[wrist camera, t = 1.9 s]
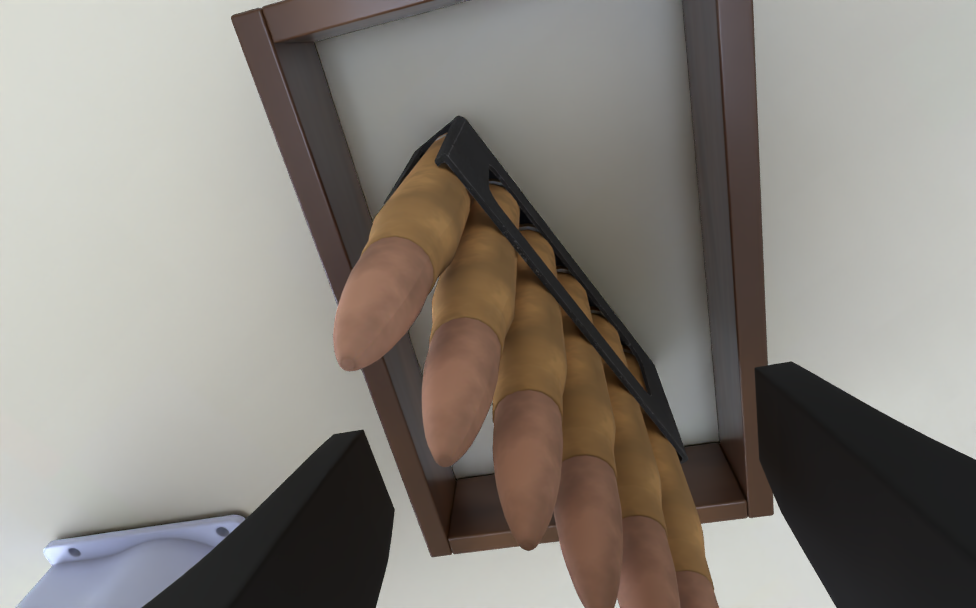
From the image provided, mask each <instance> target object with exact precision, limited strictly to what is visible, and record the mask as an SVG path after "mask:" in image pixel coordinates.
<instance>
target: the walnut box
mask: <svg viewBox="0 0 976 608" xmlns="http://www.w3.org/2000/svg"><path fill="white" fill-rule="evenodd" d="M466 1H470V0H284V1H280V2H277V3H273V4H270V5H266V6H263V7H262V8H256V9H252V10H249V11H245V12H242V13H238V14H234V15H232V16H231V20H232V23H233V26H234V28H235V31H236V34H237V36H238V39H239V42H240V44H241V47H242V50H243V52H244V55H245V58H246V61H247V63H248V66H249V69H250V71H251V74H252V77H253V79H254V82H255V85H256V87H257V90H258V93H259V95H260V98H261V101H262V104H263V106H264V109H265V112H266V114H267V117H268V120H269V122H270V125H271V128H272V130H273V133H274V136H275V138H276V141H277V144H278V147H279V149H280V152H281V155H282V157H283V160H284V163H285V165H286V168H287V171H288V173H289V176H290V179H291V182H292V184H293V187H294V190H295V192H296V195H297V198H298V200H299V203H300V206H301V208H302V211H303V214H304V216H305V219H306V222H307V225H308V227H309V230H310V233H311V235H312V238H313V241H314V243H315V246H316V249H317V251H318V254H319V257H320V259H321V262H322V265H323V268H324V270H325V273H326V276H327V278H328V281H329V284H330V286H331V289H332V292H333V294H334V297H335V300H336V303H337V305H338V304H339V301H340V298H341V295H342V292H343V289H344V287H345V284H346V282H347V279H348V277H349V275H350V273H351V271H352V269H353V268H354V266H355V265H356V263H357V262H358V260H359V259H360V256H361V253H362V251H363V249H364V247H365V246H366V244H367V242H368V241H369V235H370V231H371V228H372V225H373V223H372V220H371V217H370V214H369V211H368V208H367V205H366V202H365V199H364V196H363V192H362V189H361V186H360V183H359V180H358V177H357V174H356V171H355V168H354V165H353V162H352V159H351V155H350V152H349V149H348V146H347V143H346V140H345V137H344V134H343V131H342V128H341V125H340V122H339V118H338V115H337V112H336V109H335V106H334V103H333V100H332V97H331V94H330V91H329V88H328V84H327V81H326V78H325V75H324V72H323V69H322V66H321V63H320V60H319V57H318V54H317V51H316V47H315V44H314V42H316V41H320V40H324V39H327V38H331V37H335V36H339V35H342V34H346V33H350V32H354V31H357V30H361V29H365V28H369V27H372V26H376V25H380V24H384V23H387V22H391V21H395V20H399V19H402V18H406V17H410V16H414V15H417V14H421V13H425V12H429V11H432V10H436V9H440V8H444V7H447V6H451V5H455V4H459V3H462V2H466ZM682 1H683V13H684V24H685V36H686V48H687V60H688V72H689V84H690V95H691V107H692V119H693V131H694V143H695V154H696V166H697V178H698V190H699V202H700V214H701V225H702V237H703V249H704V261H705V273H706V284H707V296H708V308H709V320H710V332H711V344H712V355H713V367H714V379H715V391H716V403H717V414H718V426H719V438H720V443H718V442H716V443H709V444H702V445H695V446H688V447H684V448H685V451H686V454H687V456H688V460H687V461H686V462H684V463H682V464H681V467H682V470H683V472H684V475H685V478H686V481H687V484H688V487H689V490H690V492H691V495H692V498H693V501H694V504H695V507H696V510H697V512H698V515H699V519H700V523H701V524H703V523H711V522H719V521H727V520H735V519H743V518H747V517H749V518H754V517H762V516H770V515H773V514H774V508H773V492H772V490H771V487H770V485H769V483H768V480H767V478H766V475H765V473H764V471H763V468H762V466H761V463H760V461H759V447H758V427H757V408H756V388H755V368H754V367H761V366H767V365H768V360H767V335H766V310H765V286H764V261H763V236H762V211H761V187H760V162H759V137H758V113H757V88H756V63H755V38H754V14H753V0H682ZM361 370H362V372H363V375H364V378H365V381H366V383H367V386H368V389H369V391H370V394H371V397H372V399H373V402H374V405H375V407H376V410H377V413H378V415H379V418H380V421H381V424H382V426H383V429H384V432H385V434H386V437H387V440H388V442H389V445H390V448H391V450H392V453H393V456H394V458H395V461H396V464H397V467H398V469H399V472H400V475H401V477H402V480H403V483H404V485H405V488H406V491H407V493H408V496H409V499H410V502H411V504H412V507H413V510H414V512H415V515H416V518H417V520H418V523H419V526H420V528H421V531H422V534H423V536H424V539H425V542H426V545H427V547H428V550H429V553H430V555H431V557H437V556H446V555H451V554H452V553H453V554H461V553H469V552H477V551H485V550H493V549H501V548H509V547H517V546H519V544H518V543H517V541H516V540H515V538H514V536H513V534H512V533H511V530H510V528H509V526H508V523H507V521H506V519H505V516H504V513H503V509H502V506H501V502H500V499H499V495H498V490H497V486H496V480H495V474H493V475H486V476H479V477H472V478H465V479H458V480H457V481H456V479H455V476H454V473H453V470H452V467H451V466H449V467H442V466H440V465H438V464H437V463H436V461H435V460H434V458H433V456H432V454H431V451H430V449H429V447H428V444H427V441H426V438H425V432H424V425H423V417H422V383H423V378H422V374H421V371H420V368H419V365H418V362H417V359H416V356H415V353H414V350H413V347H412V344H411V341H410V337H409V334H408V331H407V332H406V334H405V335H404V336H403V337H402V338H401V339H400V340H399V341H398V342H397V343H396V344H395V345H394V346H393V348H392V349H391V350H389V351H388V352H387V353H386V354H385V355H384V356H382V357H381V358H380V359H379V360H377V361H376V362H374V363H372V364H371V365H369V366H366V367H364V368H362V369H361ZM558 541H559V537H558V532H557V527H556V522H555V517H554V511H553V514H552V518H551V521H550V523H549V525H548V528H547V530H546V532H545V534H544V535H543V537H542V539H541V541H540V542H539V544H541V543H549V542H558Z"/></svg>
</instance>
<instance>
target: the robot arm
mask: <svg viewBox="0 0 976 608" xmlns="http://www.w3.org/2000/svg"><path fill="white" fill-rule="evenodd" d="M754 368H755V388H756V408H757V427H758V447H759V461H760V463H761V466H762V468H763V471H764V473H765V475H766V478H767V480H768V483H769V485H770V487H771V490H772V492H773V494H774V497H775V499H776V501H777V503H778V506H779V508H780V510H781V513H782V514H783V516H784V518H785V520H786V521H787V523H788V525H789V527H790V528H791V530H792V532H793V534H794V535H795V537H796V539H797V541H798V542H799V544H800V546H801V547H802V549H803V551H804V553H805V554H806V556H807V558H808V560H809V561H810V563H811V565H812V566H813V568H814V570H815V571H816V573H817V575H818V577H819V578H820V580H821V582H822V583H823V585H824V587H825V589H826V590H827V592H828V594H829V595H830V597H831V599H832V601H833V602H834V604H835V606H836V607H837V608H976V460H975V459H973V458H971V457H969V456H967V455H965V454H963V453H960V452H958V451H956V450H954V449H952V448H950V447H948V446H946V445H944V444H942V443H940V442H938V441H936V440H934V439H931V438H929V437H928V436H926V435H924V434H922V433H920V432H918V431H916V430H914V429H912V428H910V427H908V426H906V425H904V424H902V423H900V422H899V421H897V420H895V419H893V418H891V417H889V416H887V415H886V414H884V413H882V412H880V411H878V410H876V409H875V408H873V407H871V406H869V405H867V404H866V403H864V402H862V401H860V400H859V399H857V398H855V397H853V396H851V395H850V394H848V393H846V392H845V391H843V390H841V389H839V388H838V387H836V386H834V385H832V384H831V383H829V382H827V381H825V380H824V379H822V378H820V377H818V376H817V375H815V374H813V373H811V372H810V371H808V370H806V369H804V368H803V367H801V366H799V365H797V364H795V363H793V362H786V363H780V364H773V365H767V366H761V367H754ZM394 511H395V509H394V507H393V504H392V502H391V499H390V496H389V494H388V491H387V489H386V486H385V484H384V481H383V479H382V476H381V473H380V471H379V468H378V466H377V463H376V461H375V458H374V455H373V453H372V450H371V448H370V445H369V443H368V440H367V438H366V435H365V432H364V430H358V431H352V432H345V433H339V434H334V435H333V436H331V437H330V438H329V439H328V440H327V441H326V442H324V443H323V444H322V445H321V446H320V447H319V448H318V449H317V450H316V451H315V452H314V453H313V454H312V455H311V456H310V457H309V458H308V459H307V460H306V461H305V462H304V463H303V464H302V465H301V466H300V467H299V468H298V469H297V470H296V471H295V472H294V473H293V474H292V475H291V476H289V477H288V478H287V479H286V480H285V481H284V482H283V483H282V484H281V485H280V486H279V487H278V488H277V489H276V490H275V491H274V492H273V493H272V494H271V495H270V496H269V497H268V498H267V499H266V500H265V501H264V502H263V503H262V504H261V505H260V506H259V507H258V508H257V509H256V510H255V511H254V512H253V513H252V514H251V515H250V516H248V517H247V518H246V519H245V518H244V517H242V516H240V515H228V516H221V517H214V518H207V519H200V520H193V521H186V522H179V523H172V524H165V525H158V526H151V527H144V528H137V529H130V530H123V531H116V532H109V533H102V534H95V535H88V536H81V537H74V538H67V539H60V540H54V541H51V542H50V543H49V544H48V545H47V546H46V547H45V548H44V555H45V557H46V558H47V559H48V561H49V562H50V563H51V565H52V567H51V568H50V569H49V570H48V571H47V573H46V574H45V575H44V576H43V577H42V578H41V579H40V580H39V582H38V583H37V584H36V585H35V586H34V587H33V588H32V589H31V591H30V592H29V593H28V594H27V595H26V596H25V597H24V598H23V600H22V601H21V602H20V603H19V604H18V605H17V606H16V608H376V605H377V601H378V597H379V593H380V590H381V586H382V582H383V578H384V575H385V571H386V567H387V563H388V557H389V550H390V544H391V537H392V528H393V520H394ZM223 527H224V528H223ZM225 528H226V529H225Z"/></svg>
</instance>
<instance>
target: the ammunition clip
mask: <svg viewBox="0 0 976 608" xmlns="http://www.w3.org/2000/svg"><path fill="white" fill-rule="evenodd" d="M439 276H440V277H439ZM438 277H439V280H438V283H437V286H436V289H435V292H434V295H433V299H432V321H433V325H432V330H431V335H430V339H429V350H428V354H427V357H426V361H425V365H424V373H423V383H422V417H423V425H424V432H425V438H426V441H427V444H428V447H429V449H430V451H431V454H432V456H433V458H434V460H435V461H436V463H437V464H438V465H440V466H442V467H449V466H451V465H453V464H454V463H455V462H456V461H458V460H459V459H460V458H461V457H462V456H463V455H464V454H465V453H466V451H467V450H468V449H469V448H470V446H471V445H472V443H473V441H474V440H475V438H476V436H477V434H478V432H479V431H480V429H481V426H482V424H483V422H484V420H485V418H486V416H487V413H488V411H489V408H490V406H491V403H492V400H493V423H494V430H493V461H494V472H495V480H496V486H497V490H498V495H499V499H500V502H501V506H502V509H503V513H504V516H505V519H506V521H507V523H508V526H509V528H510V530H511V533H512V534H513V536H514V538H515V540H516V541H517V543H518V544H519V546H520V547H521V548H522V549H524V550H527V551H530V550H533V549H534V548H536V546H537V545H538V544H539V542H540V541H541V539H542V537H543V535H544V534H545V532H546V530H547V528H548V525H549V523H550V521H551V518H552V514H553V511H554V517H555V522H556V527H557V532H558V537H559V542H560V546H561V550H562V553H563V557H564V560H565V563H566V566H567V569H568V571H569V574H570V576H571V579H572V582H573V584H574V587H575V589H576V592H577V594H578V596H579V598H580V600H581V602H582V604H583V605H584V607H585V608H614V606H615V603H616V600H617V599H618V602H619V606H620V608H719V606H718V603H717V600H716V597H715V594H714V586H713V582H712V579H711V575H710V572H709V568H708V565H707V561H706V558H705V548H704V537H703V531H702V527H701V523H700V519H699V515H698V512H697V510H696V507H695V504H694V501H693V498H692V495H691V492H690V490H689V487H688V484H687V481H686V478H685V475H684V472H683V470H682V467H681V464H682V463H684V462H686V461H687V460H688V456H687V454H686V451H685V448H684V445H683V443H682V440H681V437H680V434H679V432H678V429H677V426H676V423H675V420H674V418H673V415H672V412H671V409H670V407H669V404H668V401H667V398H666V396H665V393H664V390H663V387H662V384H661V382H660V379H659V376H658V373H657V371H656V368H655V365H654V364H653V363H652V361H651V360H650V359H649V357H648V356H647V355H646V354H645V352H644V351H643V350H642V348H641V347H640V346H639V344H638V343H637V342H636V341H635V339H634V338H633V337H632V335H631V334H630V333H629V331H628V330H627V329H626V327H625V326H624V325H623V324H622V322H621V321H620V320H619V318H618V317H617V316H616V314H615V313H614V312H613V311H612V309H611V308H610V307H609V305H608V304H607V303H606V301H605V300H604V299H603V297H602V296H601V295H600V294H599V292H598V291H597V290H596V288H595V287H594V286H593V284H592V283H591V282H590V281H589V279H588V278H587V277H586V275H585V274H584V273H583V271H582V270H581V269H580V267H579V266H578V265H577V264H576V262H575V261H574V260H573V258H572V257H571V256H570V254H569V253H568V252H567V251H566V249H565V248H564V247H563V245H562V244H561V243H560V241H559V240H558V239H557V237H556V236H555V235H554V234H553V232H552V231H551V230H550V228H549V227H548V226H547V224H546V223H545V222H544V221H543V219H542V218H541V217H540V215H539V214H538V213H537V211H536V210H535V209H534V208H533V206H532V205H531V204H530V202H529V201H528V200H527V198H526V197H525V196H524V194H523V193H522V192H521V191H520V189H519V188H518V187H517V185H516V184H515V183H514V181H513V180H512V179H511V178H510V176H509V175H508V174H507V172H506V171H505V170H504V168H503V167H502V166H501V164H500V163H499V162H498V161H497V159H496V158H495V157H494V155H493V154H492V153H491V151H490V150H489V149H488V148H487V146H486V145H485V144H484V142H483V141H482V140H481V138H480V137H479V136H478V134H477V133H476V132H475V131H474V129H473V128H472V127H471V125H470V124H469V123H468V121H467V120H466V119H465V118H463V117H460V116H457V117H456V118H455V119H454V120H452V121H451V122H450V123H449V124H448V125H446V126H445V127H444V128H443V129H442V130H440V131H439V132H438V133H437V134H436V135H434V136H433V137H432V138H431V139H430V140H428V141H427V142H426V143H425V144H424V145H422V146H421V147H420V148H419V149H418V150H416V151H415V153H414V154H413V156H412V158H411V159H410V161H409V163H408V164H407V166H406V168H405V169H404V171H403V172H402V174H401V176H400V177H399V179H398V181H397V182H396V184H395V186H394V187H393V189H392V191H391V192H390V194H389V196H388V197H387V199H386V200H385V202H384V206H383V207H382V209H381V210H380V211H379V212H378V214H377V215H376V217H375V218H374V221H373V225H372V228H371V231H370V235H369V241H368V242H367V244H366V246H365V247H364V249H363V251H362V253H361V256H360V259H359V260H358V262H357V263H356V265H355V266H354V268H353V269H352V271H351V273H350V275H349V277H348V279H347V282H346V284H345V287H344V289H343V292H342V295H341V298H340V301H339V304H338V308H337V312H336V316H335V323H334V332H333V341H334V352H335V355H336V359H337V361H338V364H339V366H340V367H341V368H342V369H343V370H345V371H356V370H359V369H362V368H364V367H366V366H369V365H371V364H372V363H374V362H376V361H377V360H379V359H380V358H381V357H382V356H384V355H385V354H386V353H387V352H388V351H389V350H391V349H392V348H393V346H394V345H395V344H396V343H397V342H398V341H399V340H400V339H401V338H402V337H403V336H404V335H405V334H406V332H407V331H408V330H409V329H410V327H411V326H412V324H413V323H414V321H415V320H416V318H417V317H418V315H419V313H420V312H421V310H422V307H423V305H424V303H425V300H426V298H427V295H428V294H429V293H430V292H431V291H432V289H433V287H434V285H435V282H436V280H437V278H438Z"/></svg>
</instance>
